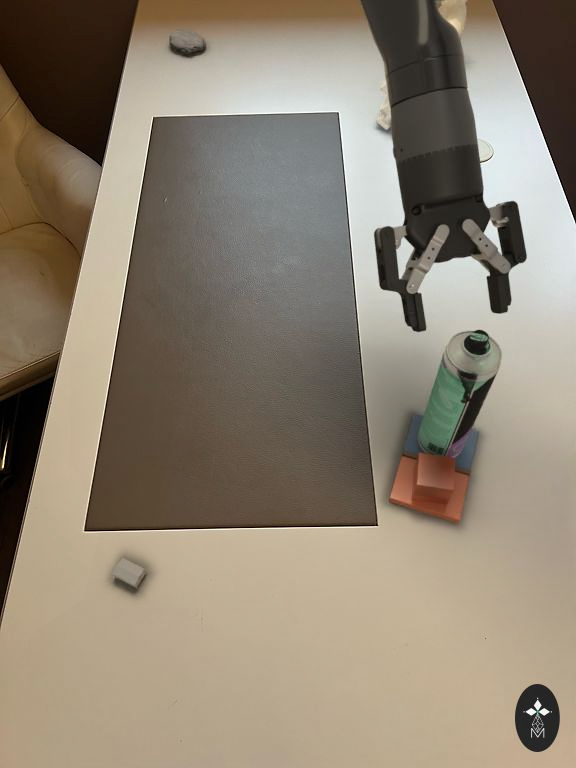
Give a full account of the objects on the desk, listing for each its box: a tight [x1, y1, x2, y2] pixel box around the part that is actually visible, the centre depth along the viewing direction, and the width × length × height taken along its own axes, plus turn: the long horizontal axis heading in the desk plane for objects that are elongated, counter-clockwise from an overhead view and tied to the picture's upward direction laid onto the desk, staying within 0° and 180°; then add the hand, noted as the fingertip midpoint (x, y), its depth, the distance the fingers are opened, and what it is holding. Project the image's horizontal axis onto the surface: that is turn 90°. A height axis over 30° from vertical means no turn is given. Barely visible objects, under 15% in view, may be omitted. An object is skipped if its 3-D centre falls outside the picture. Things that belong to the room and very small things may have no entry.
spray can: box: [418, 329, 503, 458], centre depth 67 cm, size 6×6×20 cm
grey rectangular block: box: [112, 557, 148, 589], centre depth 67 cm, size 2×3×2 cm
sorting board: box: [388, 412, 480, 524], centre depth 73 cm, size 8×12×1 cm, turn 160°
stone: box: [168, 29, 207, 55], centre depth 127 cm, size 7×8×2 cm
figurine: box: [438, 0, 469, 41], centre depth 116 cm, size 14×9×20 cm
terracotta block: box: [412, 453, 455, 505], centre depth 70 cm, size 4×4×4 cm
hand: (460, 321), depth 61 cm, fingers open, 8 cm apart
